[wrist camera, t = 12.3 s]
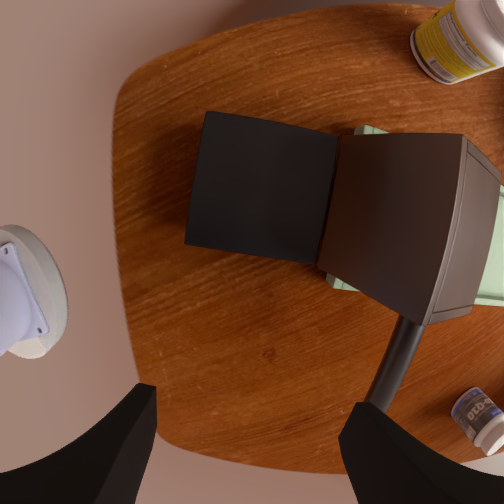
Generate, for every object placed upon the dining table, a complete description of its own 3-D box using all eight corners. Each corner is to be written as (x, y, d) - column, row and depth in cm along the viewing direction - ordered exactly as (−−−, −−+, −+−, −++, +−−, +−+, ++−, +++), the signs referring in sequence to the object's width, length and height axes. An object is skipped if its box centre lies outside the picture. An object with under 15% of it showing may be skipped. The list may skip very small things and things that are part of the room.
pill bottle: (480, 379, 23) (520, 417, 15) (476, 402, 24) (511, 439, 16) (450, 401, 24) (488, 446, 15) (448, 422, 25) (481, 464, 16)
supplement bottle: (443, 30, 15) (515, -8, 5) (466, 86, 16) (550, 64, 7) (397, 25, 15) (470, -32, 5) (422, 85, 16) (515, 50, 7)
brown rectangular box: (356, 455, 10) (416, 423, 12) (462, 133, 7) (502, 173, 9) (287, 376, 17) (348, 364, 19) (342, 135, 14) (401, 160, 16)
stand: (193, 233, 18) (183, 244, 14) (211, 123, 16) (205, 109, 13) (301, 250, 18) (315, 265, 15) (320, 144, 17) (339, 136, 14)
